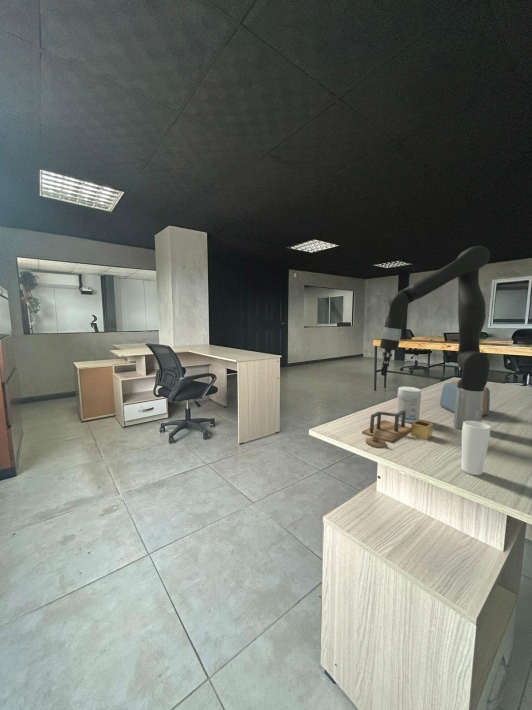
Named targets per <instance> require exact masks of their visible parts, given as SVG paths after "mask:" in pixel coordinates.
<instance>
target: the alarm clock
mask: <svg viewBox="0 0 532 710" xmlns="http://www.w3.org/2000/svg"><path fill="white" fill-rule="evenodd" d="M459 380H460V379H457V380H456V379H454V380H451V382H447V383H444V385H443V386H442V390H441V393H440V394H441V395H440V399H439V405H440V407H441V408H444V409H445V410H448V411H449V412H452V413H453V414H455V404H456V395H457V385H458V381H459ZM490 396H491V395H490V389H489V388H488V387H487V386H485V387H484V394H483V402H482V407H483V412H482V416H488V415H489V413H490V405H491V404H490V401H491V400H490V399H491V398H490Z"/></svg>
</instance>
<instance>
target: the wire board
mask: <svg viewBox="0 0 532 710" xmlns="http://www.w3.org/2000/svg"><path fill="white" fill-rule="evenodd" d="M401 415H402V420H401V421H400V420H399V416H401ZM382 416H390V417H394V421H389V420H385V419H383V420H381V419H382ZM405 417H406V412H405V410H402V411H400V412H398V413H395V412H387V411H377V412H375V413H373V414H371V415H370V421H369V422H370V423H369V427H368V428H366V429H364V430H362V431H361V433H362V434H363V435H366V436H369V437H373V430H378V431H379V439H382V440H385V442H387V441H388V442H387V443H390V442H391V444H393V443H394V442H396V441H397V440H399V439H400V438H401V437H403V436H404V435H406V434H407V433H410V432H411V426H407V425H406V422H405ZM375 418H376V424H375ZM399 421H400V423H399ZM392 442H393V443H392Z"/></svg>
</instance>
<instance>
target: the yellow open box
mask: <svg viewBox="0 0 532 710" xmlns="http://www.w3.org/2000/svg"><path fill="white" fill-rule="evenodd" d="M410 427H411V430H410V436H411V437H415V438H419V439H422V440H426V441H427V440H429V439H430V438H432V437H433V433H434V431H433V430H434V423H430V422H429V421H425V420H420V419H419V420H416V421H415V422H413V423H411V425H410Z"/></svg>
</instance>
